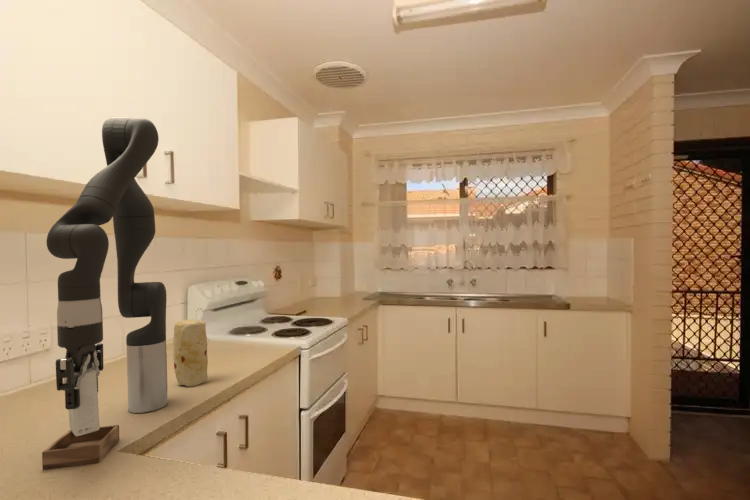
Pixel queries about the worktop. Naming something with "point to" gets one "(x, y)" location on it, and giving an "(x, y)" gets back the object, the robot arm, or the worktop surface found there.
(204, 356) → the food model
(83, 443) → the brown square tray
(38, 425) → the worktop surface
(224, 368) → the worktop surface
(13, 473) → the worktop surface
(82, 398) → the skincare box
